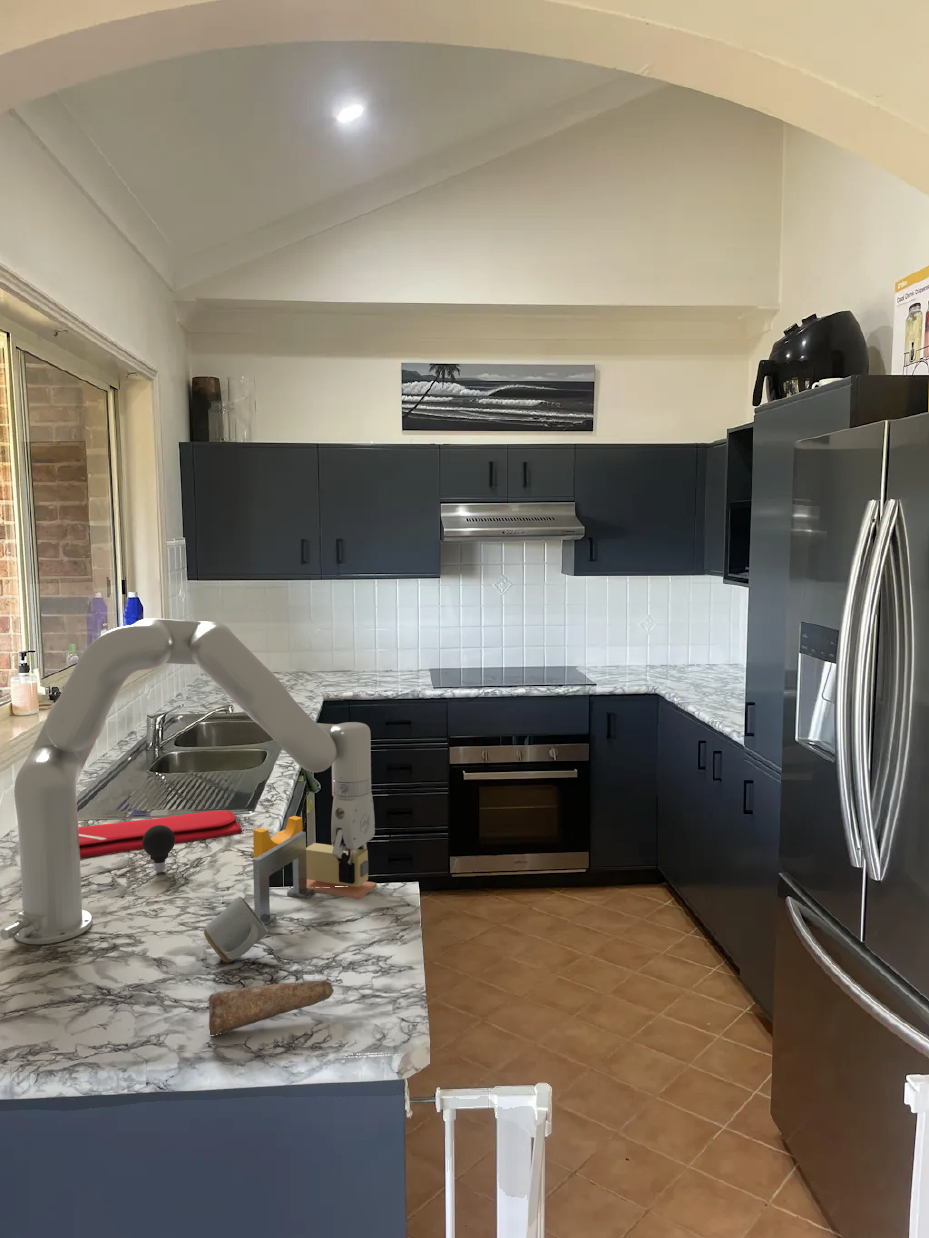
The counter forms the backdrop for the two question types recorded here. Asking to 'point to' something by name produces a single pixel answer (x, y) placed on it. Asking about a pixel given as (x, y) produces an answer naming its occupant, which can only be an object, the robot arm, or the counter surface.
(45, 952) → the counter surface
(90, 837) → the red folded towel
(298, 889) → the grey u-shaped piece
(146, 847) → the black rubber blower bulb
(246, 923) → the ceramic mug
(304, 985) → the brown tapered cone
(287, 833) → the pipe clamp
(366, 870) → the tan rectangular block
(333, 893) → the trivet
